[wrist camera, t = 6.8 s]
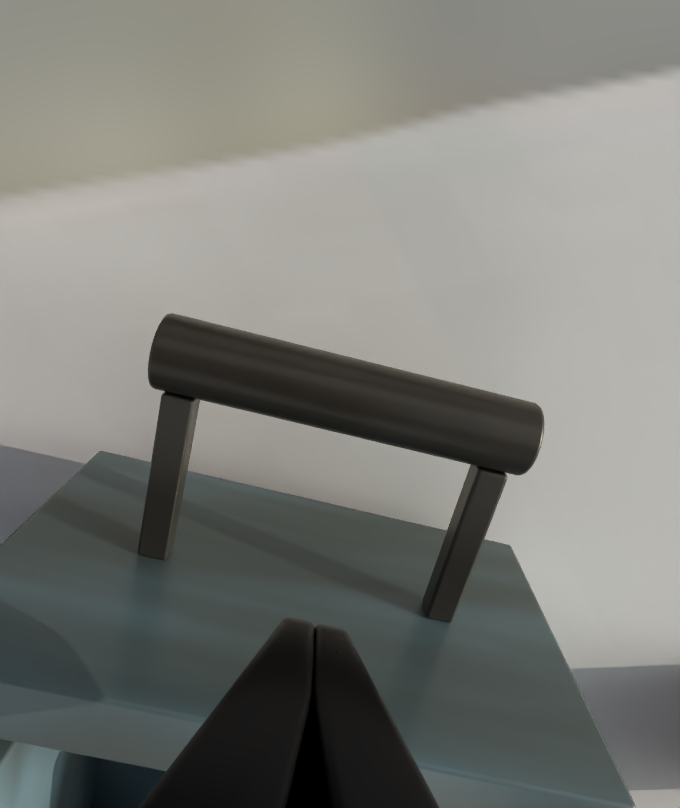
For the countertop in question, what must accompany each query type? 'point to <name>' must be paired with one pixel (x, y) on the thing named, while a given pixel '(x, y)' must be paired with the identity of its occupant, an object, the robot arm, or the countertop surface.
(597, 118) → the countertop surface
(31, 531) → the drawer
